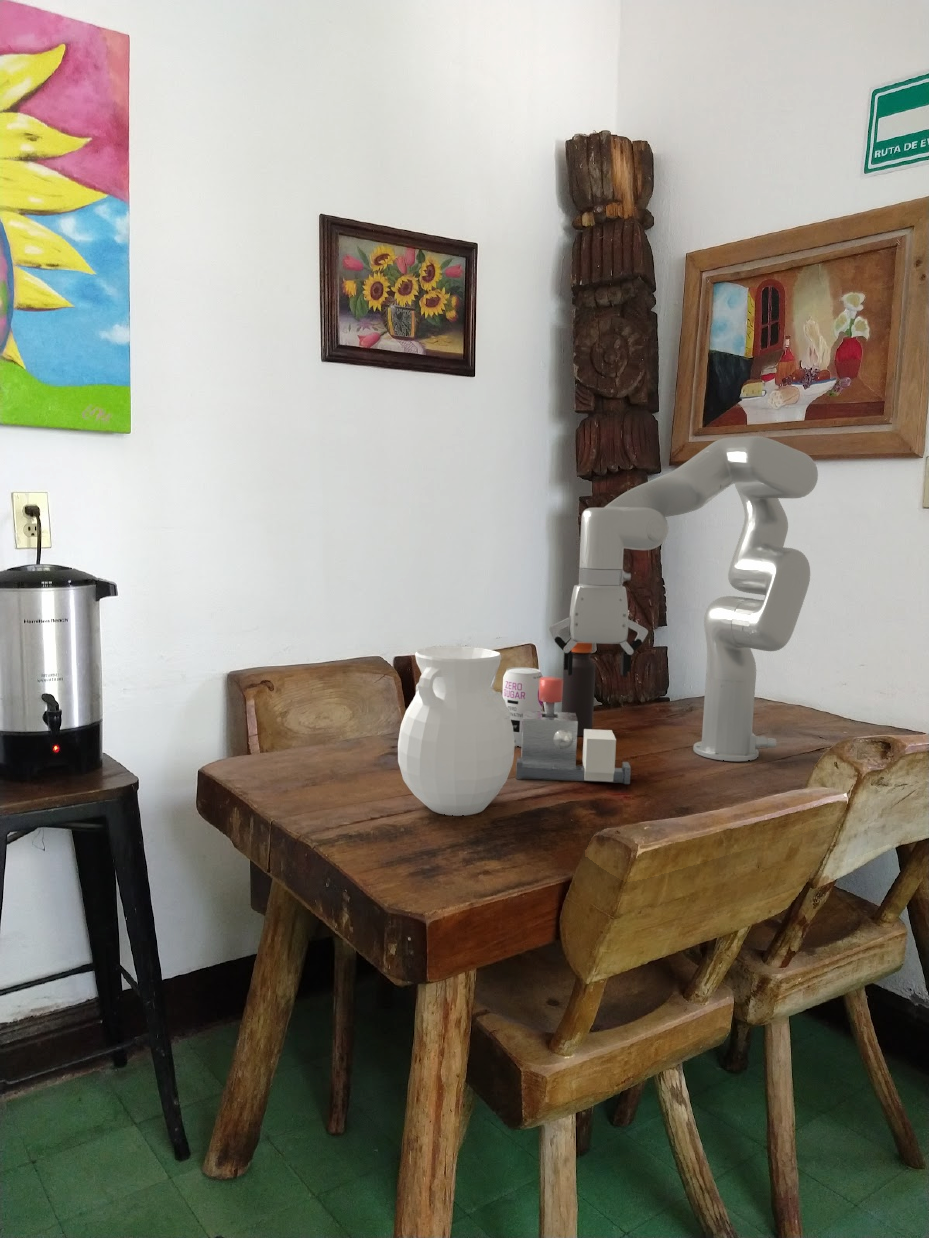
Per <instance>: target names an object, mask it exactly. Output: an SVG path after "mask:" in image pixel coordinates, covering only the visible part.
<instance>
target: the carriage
mask: <svg viewBox="0 0 929 1238" xmlns="http://www.w3.org/2000/svg"><path fill="white" fill-rule="evenodd" d="M582 745H583V746H582V766H584V769H585V773H584V780H586V781H585V782H591V781H608V782H607V783H613V775H614V771H615V768H616V766H615V765H616V750H617V749H616V748H617V746H616V745H617V738H616V736H615V734H614V733H613V730H612V729H594V728H592V729H584V736H583V744H582Z"/></svg>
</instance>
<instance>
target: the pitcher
mask: <svg viewBox="0 0 929 1238" xmlns="http://www.w3.org/2000/svg"><path fill="white" fill-rule="evenodd" d="M414 653H415V654H414V656H415V661H416V665H417V666H418V668H419V671H420V673H421V675H420V677H419V680H418V682H417V684H416V686H415V695H414V697H413V699H412V700H411V702H410V704H409V706H408V707H407V708H406V710H405V713H404V716H403V719H402V721H401V723H400V729H399V735H398V741H397V763H398V765H399V770H400V773H401V775H402V780H403V782H404V783H405V785H406V786H407V787H408V789H409V790H410V791H411V793H412V794H413V795H414V796H415V797H416V798H417V799H418V800H419V801H420V802H422V804H424V805H425V806H426V807H427V808H428V809H429V810H431V811H432V812H434V813H437V814H440V815H444V814H445V815H446V816H452V815H453V816H455V817H460V816H462V815H464V816H471V815H476V814H478V813H481V812H483V811H484V810H485V809H486V808H487V807H488V806H489V805H490V804H491V802H492V801H494V799H495V798H496V797H498V794H499V793H500V791H501V789H502V788H503V787H504V785H505V784H506V782H507V780H508V778H509V774H510V772H511V770H512V767H513V764H514V757H515V756H514V755H515V747H516V746H515V742H514V733H513V726H512V722H511V719H510V716H511V715H510V710H509V709H508V707H507V706H506V703H505V700H504V699H503V696H502V695H503V693H502V692H501V691H496V690H495V689H494V686H495V683H496V680H497V672H498V670H499V667H500V664H501V661H502V655H501V652H499V651H495V650H493V649H489V648H484V647H474V646H466V645H465V646H463V645H462V646H461V645H455V646H454V645H449V646H448V645H447V646H446V645H443V646H442V645H439V646H437V645H436V646H428V647H423V648H420V649H417V650H416V652H414ZM445 815H444V816H445ZM453 816H452V817H453Z"/></svg>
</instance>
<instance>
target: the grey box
mask: <svg viewBox="0 0 929 1238" xmlns="http://www.w3.org/2000/svg"><path fill="white" fill-rule="evenodd" d="M545 716H546V710H545V711H543V710H542V711H523V723H522V747H521V749H520V750H521V751H520V752H521V754H520V755H521V756H520V757H522V761H523V764H541V765H563V766H577V764H576V763H577V748H578V747H577V745H578V744H577V743H578V736H577V726H578V721H577V717H576V714H575V713H568V712H561V711H554V718H548V717H545Z"/></svg>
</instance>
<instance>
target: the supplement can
mask: <svg viewBox="0 0 929 1238" xmlns="http://www.w3.org/2000/svg"><path fill="white" fill-rule="evenodd" d="M542 677H544V676H543V674H542V673H541V670H540V669H538V668H532V667H521V666H517V667H515V666H514V667H508V668H507V669H506V671H505V673H504V675H503V678H502V696H503V699H504V700H505V703H506V706H507V707H508V709H509V710H510V715H511V716H510V719H511V722H512V726H513V733H514V742H515V747H517V746H519V747H520V748H522V723H523V711H543V702H542V701H540V700H539V681H540V678H542ZM519 747H518V748H519Z"/></svg>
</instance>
